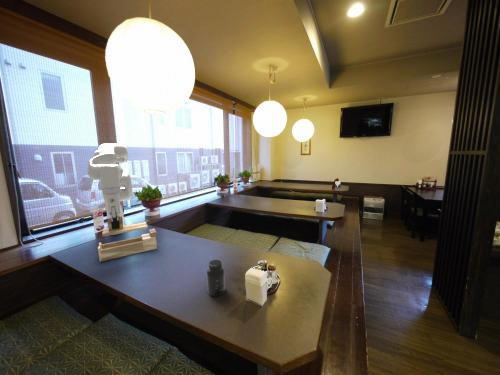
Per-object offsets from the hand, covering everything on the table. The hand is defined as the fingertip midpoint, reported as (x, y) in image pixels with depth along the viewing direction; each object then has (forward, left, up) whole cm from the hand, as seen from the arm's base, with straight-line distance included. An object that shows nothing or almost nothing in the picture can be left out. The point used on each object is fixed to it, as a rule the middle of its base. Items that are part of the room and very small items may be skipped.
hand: (116, 227), depth 100 cm
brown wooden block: (-11, +17, -11) cm, 23 cm away
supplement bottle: (+48, +32, -19) cm, 61 cm away
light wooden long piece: (-11, +5, -19) cm, 22 cm away
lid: (0, +4, -2) cm, 5 cm away
